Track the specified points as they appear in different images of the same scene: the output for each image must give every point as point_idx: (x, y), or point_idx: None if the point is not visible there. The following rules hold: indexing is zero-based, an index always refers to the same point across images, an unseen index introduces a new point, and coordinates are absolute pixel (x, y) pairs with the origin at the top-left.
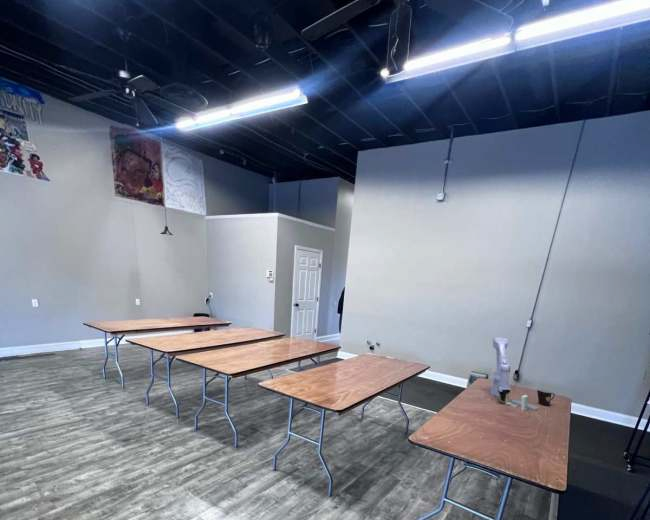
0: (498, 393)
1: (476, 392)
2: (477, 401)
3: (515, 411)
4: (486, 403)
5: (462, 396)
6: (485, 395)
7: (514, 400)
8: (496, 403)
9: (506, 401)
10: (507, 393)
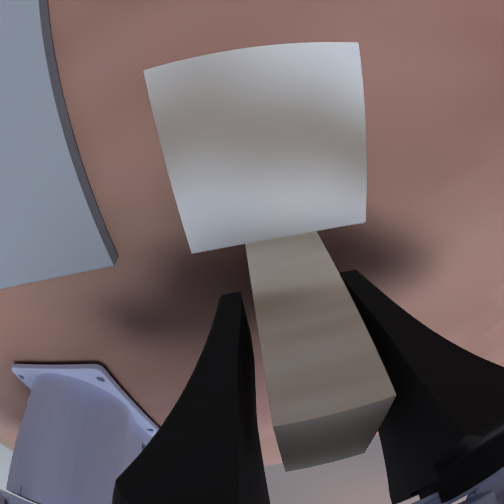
0: (119, 425)
1: (265, 450)
2: (485, 340)
3: (488, 5)
4: (490, 300)
5: None
6: (257, 425)
7: (11, 262)
8: (423, 279)
9: (314, 247)
10: (288, 425)
